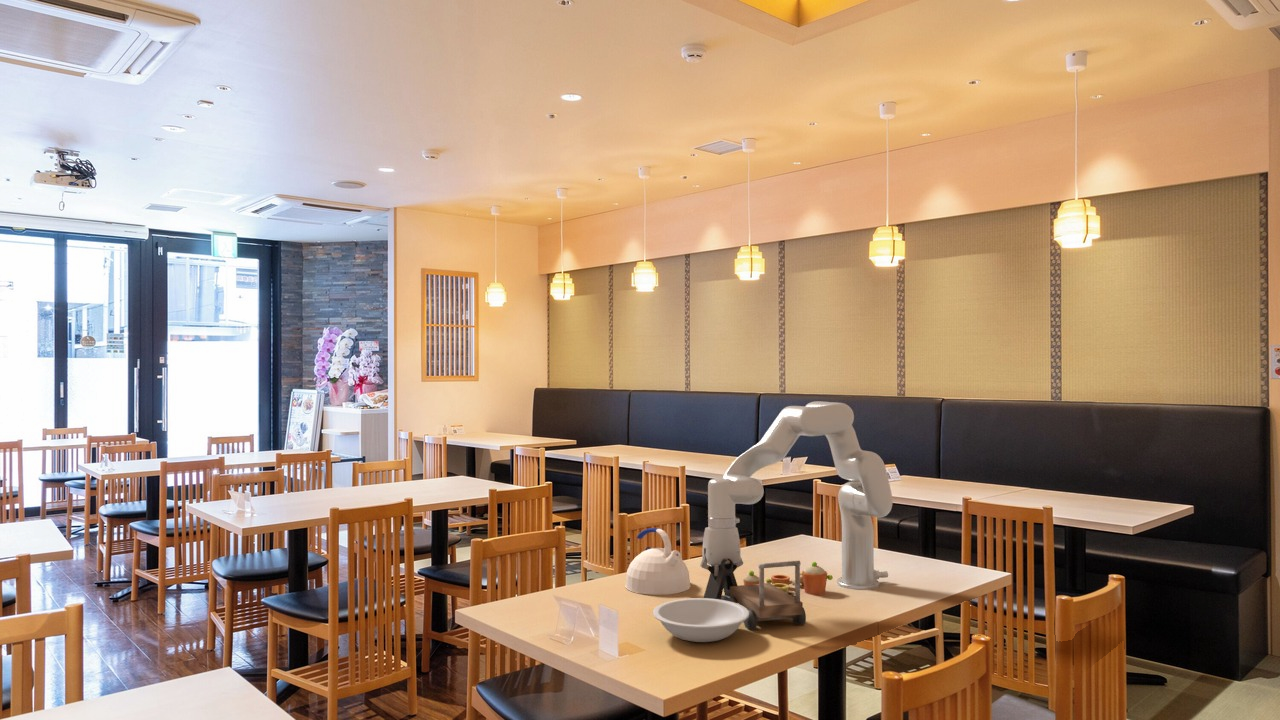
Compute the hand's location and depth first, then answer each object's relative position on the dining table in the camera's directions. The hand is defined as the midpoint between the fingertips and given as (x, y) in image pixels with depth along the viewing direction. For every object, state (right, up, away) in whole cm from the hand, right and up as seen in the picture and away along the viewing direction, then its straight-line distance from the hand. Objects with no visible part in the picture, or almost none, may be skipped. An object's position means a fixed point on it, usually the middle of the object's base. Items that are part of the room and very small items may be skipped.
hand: (722, 588), depth 232 cm
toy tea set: (+21, -6, +16) cm, 27 cm away
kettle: (-17, -6, +24) cm, 30 cm away
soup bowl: (-8, -6, -25) cm, 26 cm away
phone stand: (0, -3, 0) cm, 3 cm away
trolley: (+10, -5, -11) cm, 16 cm away
